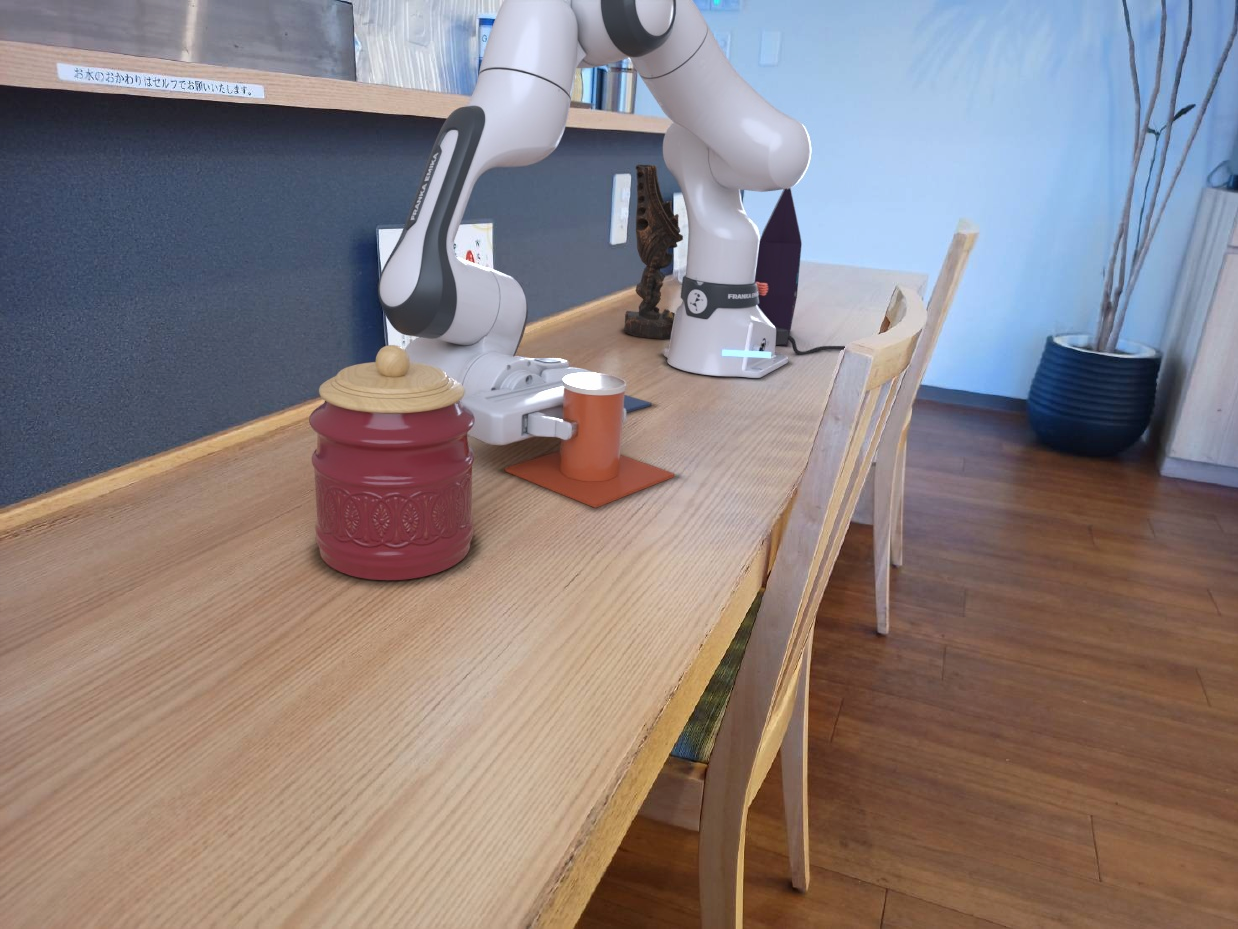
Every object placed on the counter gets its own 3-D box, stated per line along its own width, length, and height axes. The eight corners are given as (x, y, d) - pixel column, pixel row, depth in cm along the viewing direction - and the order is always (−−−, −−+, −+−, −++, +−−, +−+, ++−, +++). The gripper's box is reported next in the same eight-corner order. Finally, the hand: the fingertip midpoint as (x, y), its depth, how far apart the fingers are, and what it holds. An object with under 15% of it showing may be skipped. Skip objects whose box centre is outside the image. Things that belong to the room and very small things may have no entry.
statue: (674, 341, 161) (689, 168, 150) (618, 335, 163) (629, 164, 152) (681, 330, 170) (696, 167, 160) (628, 325, 172) (640, 163, 162)
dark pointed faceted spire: (789, 330, 178) (809, 185, 168) (789, 347, 163) (812, 189, 153) (749, 326, 179) (766, 182, 169) (745, 342, 164) (764, 185, 154)
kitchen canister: (345, 512, 82) (337, 323, 75) (485, 522, 81) (488, 334, 75) (292, 577, 69) (277, 358, 63) (456, 590, 69) (457, 372, 63)
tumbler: (586, 456, 99) (592, 369, 96) (632, 472, 95) (639, 383, 92) (545, 469, 94) (549, 378, 91) (591, 487, 90) (597, 393, 87)
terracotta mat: (586, 445, 104) (586, 442, 103) (674, 477, 96) (674, 473, 96) (504, 471, 94) (504, 467, 94) (595, 508, 86) (595, 504, 86)
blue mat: (586, 386, 128) (586, 383, 128) (651, 405, 121) (651, 402, 121) (527, 400, 119) (527, 397, 119) (593, 422, 112) (593, 419, 112)
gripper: (435, 382, 92) (528, 413, 84) (569, 356, 107) (659, 380, 99) (435, 439, 94) (526, 475, 86) (567, 406, 109) (655, 433, 101)
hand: (598, 424), depth 92 cm, fingers closed on tumbler, 6 cm apart
